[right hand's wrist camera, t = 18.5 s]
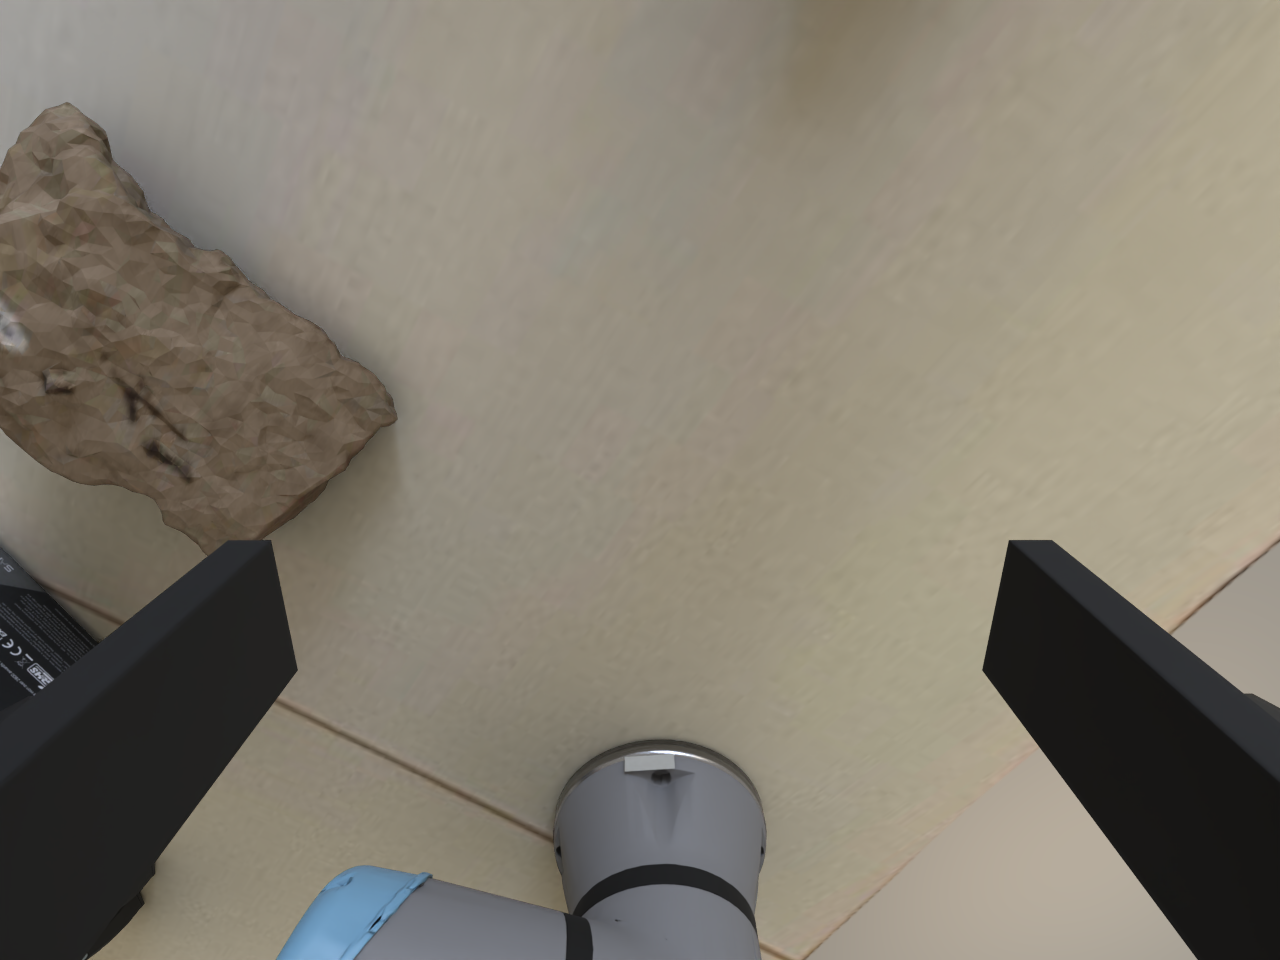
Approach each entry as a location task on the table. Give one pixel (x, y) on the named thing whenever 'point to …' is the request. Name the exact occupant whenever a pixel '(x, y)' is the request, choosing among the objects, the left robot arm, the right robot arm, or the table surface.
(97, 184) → the stone
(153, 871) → the robot
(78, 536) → the table surface
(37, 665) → the graphics card box
